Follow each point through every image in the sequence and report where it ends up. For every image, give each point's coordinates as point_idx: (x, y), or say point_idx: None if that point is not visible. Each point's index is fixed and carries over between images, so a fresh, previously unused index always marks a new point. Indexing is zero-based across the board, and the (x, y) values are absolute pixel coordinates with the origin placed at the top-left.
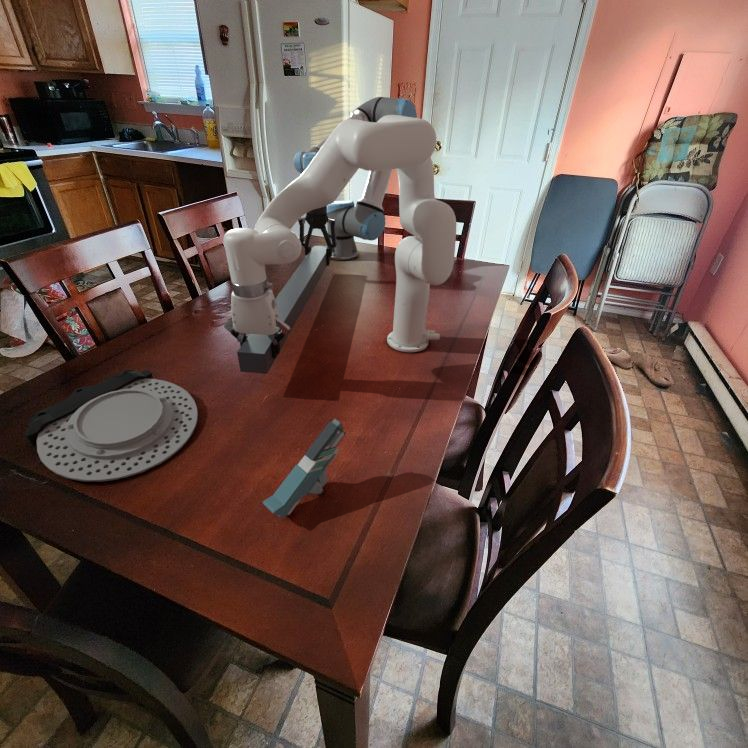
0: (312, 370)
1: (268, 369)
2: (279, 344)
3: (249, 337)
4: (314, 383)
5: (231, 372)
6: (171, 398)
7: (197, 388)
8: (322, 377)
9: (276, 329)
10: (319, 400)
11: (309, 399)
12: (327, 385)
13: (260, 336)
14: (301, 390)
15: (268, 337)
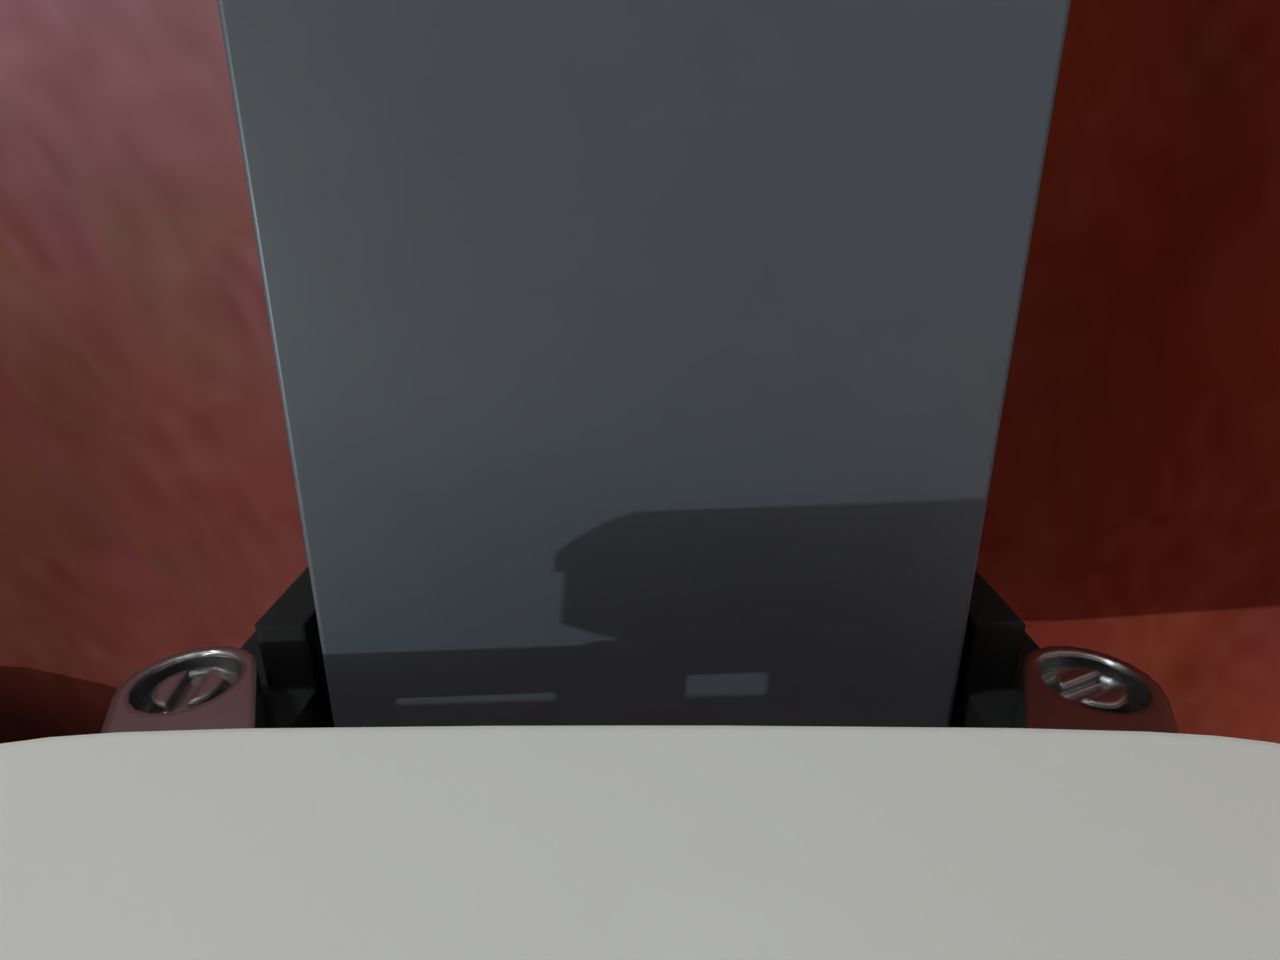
0: (1091, 164)
1: None
2: (1023, 640)
3: (381, 711)
4: (1112, 399)
5: (238, 337)
6: None
7: (91, 615)
8: (1197, 286)
9: (960, 192)
10: (1150, 620)
11: (1068, 620)
12: (1237, 413)
13: (618, 633)
14: (993, 518)
15: (824, 651)
